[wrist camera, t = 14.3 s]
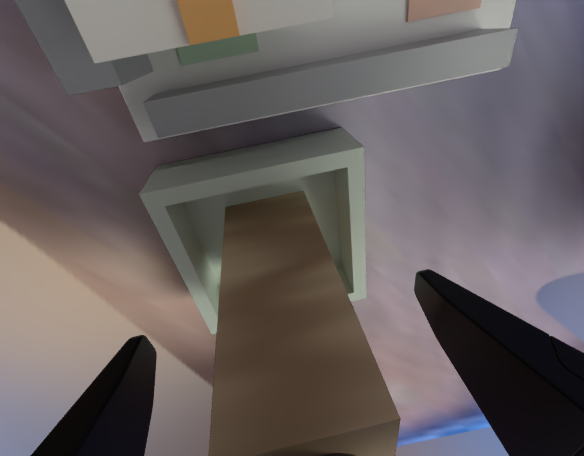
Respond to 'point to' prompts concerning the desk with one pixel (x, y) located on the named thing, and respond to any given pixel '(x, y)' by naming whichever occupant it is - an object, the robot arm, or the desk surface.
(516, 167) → the desk surface
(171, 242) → the holder
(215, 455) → the tan rectangular block
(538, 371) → the robot arm
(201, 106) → the panel
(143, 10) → the breaker
